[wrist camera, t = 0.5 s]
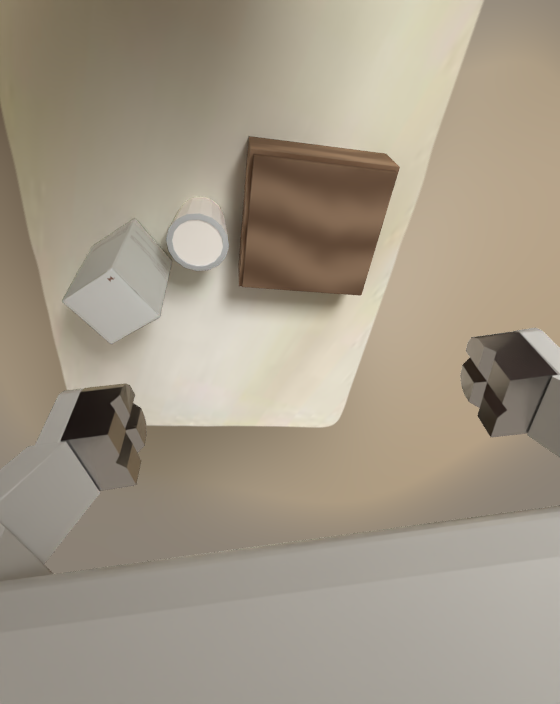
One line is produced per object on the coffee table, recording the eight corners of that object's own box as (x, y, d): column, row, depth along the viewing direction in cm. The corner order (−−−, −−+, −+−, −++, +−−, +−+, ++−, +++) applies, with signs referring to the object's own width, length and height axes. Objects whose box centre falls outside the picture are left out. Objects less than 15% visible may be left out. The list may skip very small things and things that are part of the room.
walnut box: (248, 136, 46) (250, 150, 41) (386, 153, 48) (402, 169, 44) (238, 266, 56) (239, 289, 51) (352, 275, 58) (362, 298, 54)
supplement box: (89, 245, 53) (57, 300, 43) (135, 215, 51) (112, 265, 41) (130, 288, 57) (109, 346, 47) (174, 262, 55) (162, 317, 45)
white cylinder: (214, 254, 55) (211, 281, 49) (164, 228, 52) (156, 254, 47) (239, 209, 51) (240, 233, 46) (187, 179, 48) (181, 201, 43)
